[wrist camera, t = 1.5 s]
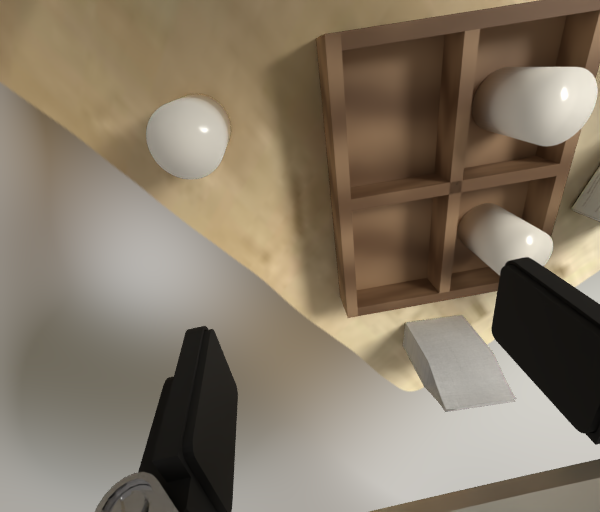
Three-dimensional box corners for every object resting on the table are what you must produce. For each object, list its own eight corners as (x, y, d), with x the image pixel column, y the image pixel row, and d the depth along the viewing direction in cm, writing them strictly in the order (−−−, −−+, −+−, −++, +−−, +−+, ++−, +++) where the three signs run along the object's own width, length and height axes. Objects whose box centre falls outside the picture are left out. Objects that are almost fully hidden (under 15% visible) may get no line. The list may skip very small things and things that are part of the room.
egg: (160, 98, 24) (133, 107, 19) (222, 88, 24) (213, 95, 19) (180, 161, 27) (161, 184, 21) (237, 152, 27) (232, 172, 21)
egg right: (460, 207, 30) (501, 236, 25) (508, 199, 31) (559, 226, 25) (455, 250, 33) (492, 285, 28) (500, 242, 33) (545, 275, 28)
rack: (316, 38, 23) (324, 34, 20) (575, -3, 24) (620, -13, 21) (340, 296, 35) (347, 317, 32) (513, 265, 36) (537, 283, 33)
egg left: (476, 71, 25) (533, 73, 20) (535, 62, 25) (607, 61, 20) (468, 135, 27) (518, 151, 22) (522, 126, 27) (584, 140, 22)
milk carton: (405, 322, 38) (449, 397, 29) (462, 314, 38) (521, 386, 30) (402, 345, 40) (442, 422, 31) (456, 338, 40) (511, 412, 32)
